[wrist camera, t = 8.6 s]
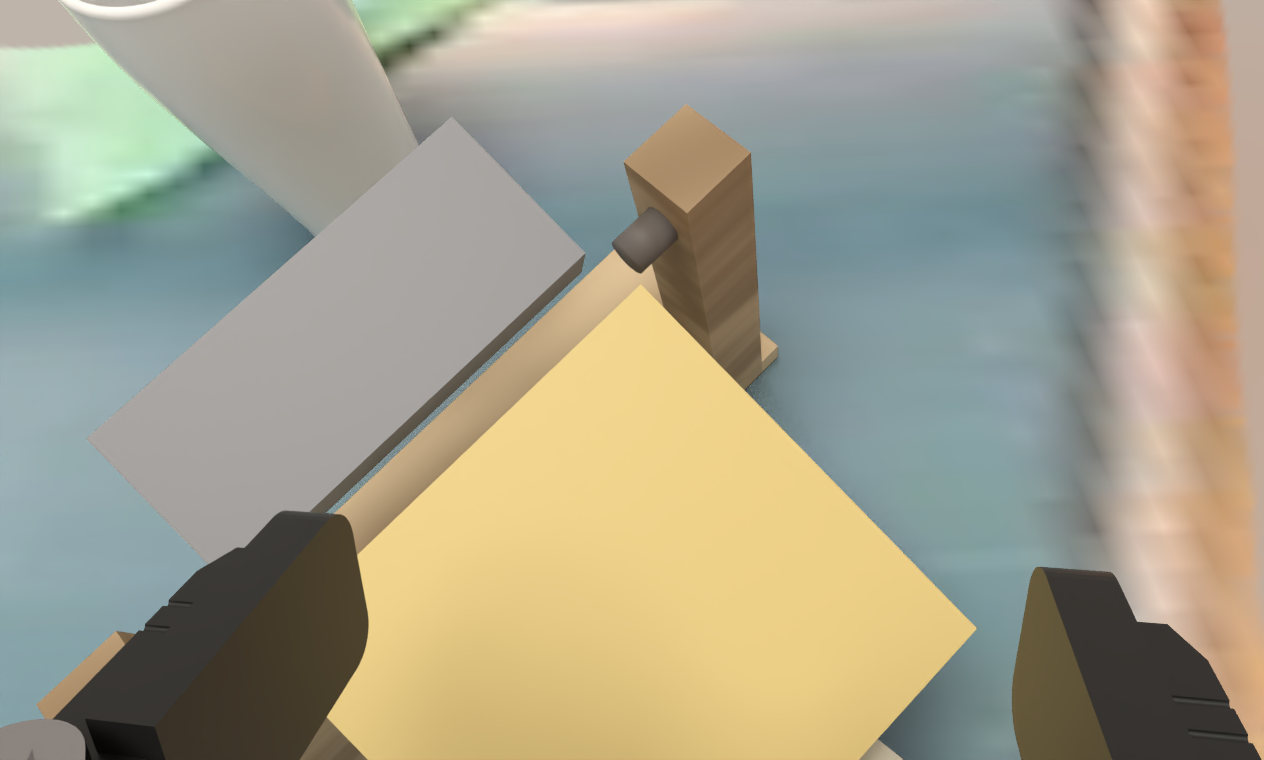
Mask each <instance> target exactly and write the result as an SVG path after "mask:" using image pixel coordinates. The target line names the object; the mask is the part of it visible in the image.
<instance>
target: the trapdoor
mask: <svg viewBox="0 0 1264 760" xmlns="http://www.w3.org/2000/svg"><path fill="white" fill-rule="evenodd" d="M584 258H585V252H584V251H583V250H582V249H581V248H580V247H579V246H578V245H577V244H576V243H575V242H574V241H573V240H572V239H571V238H570V237H569V236H568V235H567V234H566V233H565V232H564V231H563V230H562V229H561V228H560V227H559V226H558V225H557V224H556V223H555V222H554V221H553V220H552V219H551V217H550V216H549V215H548V214H547V213H546V212H545V211H544V210H543V209H542V208H541V207H540V206H539V205H538V204H537V203H536V202H535V201H534V200H533V199H532V198H531V197H530V196H529V195H528V194H527V193H526V192H525V191H524V190H523V189H522V188H521V187H520V186H519V185H518V184H517V183H516V182H515V181H514V180H513V179H512V178H511V177H510V175H509V174H508V173H507V172H506V171H505V170H504V169H503V168H502V167H501V166H500V165H499V164H498V163H497V162H496V161H495V160H494V159H493V158H492V157H491V156H490V155H489V154H488V153H487V152H486V151H485V150H484V149H483V148H482V147H481V146H480V145H479V144H478V143H477V142H476V141H475V140H474V139H473V138H472V137H471V136H470V135H469V133H468V132H467V131H466V130H465V129H464V128H463V127H462V126H461V125H460V124H459V123H458V122H457V121H456V120H455V119H454V118H453V117H451V118H450V119H449V120H447V121H446V122H445V123H444V124H443V125H442V126H441V127H439V128H438V129H437V130H436V131H435V132H434V133H433V134H431V135H430V136H429V137H428V138H427V139H426V140H425V141H424V142H422V143H421V144H420V145H419V146H418V147H417V148H416V149H414V150H413V151H412V152H411V153H410V154H409V155H408V156H407V157H405V158H404V159H403V160H402V161H401V162H400V163H399V164H397V165H396V166H395V167H394V168H393V169H392V170H391V171H390V172H388V173H387V174H386V175H385V176H384V177H383V178H382V179H380V180H379V181H378V182H377V183H376V184H375V185H374V186H372V187H371V188H370V189H369V190H368V191H367V192H366V193H365V194H363V195H362V196H361V197H360V198H359V199H358V200H357V201H355V202H354V203H353V204H352V205H351V206H350V207H349V208H348V209H346V210H345V211H344V212H343V213H342V214H341V215H340V216H338V217H337V218H336V219H335V220H334V221H333V222H332V223H331V224H329V225H328V226H327V227H326V228H325V229H324V230H323V231H321V232H320V233H319V234H318V235H317V236H316V237H315V238H313V239H312V240H311V241H310V242H309V243H308V244H307V245H306V246H304V247H303V248H302V249H301V250H300V251H299V252H298V253H296V254H295V255H294V256H293V257H292V258H291V259H290V260H289V261H287V262H286V263H285V264H284V265H283V266H282V267H281V268H279V269H278V270H277V271H276V272H275V273H274V274H273V275H272V276H270V277H269V278H268V279H267V280H266V281H265V282H264V283H262V284H261V285H260V286H259V287H258V288H257V289H256V290H254V291H253V292H252V293H251V294H250V295H249V296H248V297H247V298H245V299H244V300H243V301H242V302H241V303H240V304H239V305H237V306H236V307H235V308H234V309H233V310H232V311H231V312H230V313H228V314H227V315H226V316H225V317H224V318H223V319H222V320H220V321H219V322H218V323H217V324H216V325H215V326H214V327H213V328H211V329H210V330H209V331H208V332H207V333H206V334H205V335H203V336H202V337H201V338H200V339H199V340H198V341H197V342H195V343H194V344H193V345H192V346H191V347H190V348H189V349H188V350H186V351H185V352H184V353H183V354H182V355H181V356H180V357H178V358H177V359H176V360H175V361H174V362H173V363H172V364H171V365H169V366H168V367H167V368H166V369H165V370H164V371H163V372H161V373H160V374H159V375H158V376H157V377H156V378H155V379H154V380H152V381H151V382H150V383H149V384H148V385H147V386H146V387H144V388H143V389H142V390H141V391H140V392H139V393H138V394H136V395H135V396H134V397H133V398H132V399H131V400H130V401H129V402H127V403H126V404H125V405H124V406H123V407H122V408H121V409H119V410H118V411H117V412H116V413H115V414H114V415H113V416H112V417H110V418H109V419H108V420H107V421H106V422H105V423H104V424H102V425H101V426H100V427H99V428H98V429H97V430H96V431H95V432H93V433H92V434H91V435H90V436H89V437H88V438H87V440H88V441H89V442H90V443H91V444H92V445H93V446H94V447H95V448H96V449H97V450H98V451H99V452H100V453H101V454H102V455H103V456H104V457H105V459H106V460H107V461H108V462H109V463H110V464H111V465H112V466H113V467H114V468H115V469H116V470H117V471H118V472H119V473H120V474H121V475H122V476H123V477H124V478H125V479H126V480H127V481H128V482H129V483H130V484H131V485H132V486H133V487H134V488H135V489H136V490H137V491H138V493H139V494H140V495H141V496H142V497H143V498H144V499H145V500H146V501H147V502H148V503H149V504H150V505H151V506H152V507H153V508H154V509H155V510H156V511H157V512H158V513H159V514H160V515H161V516H162V517H163V518H164V519H165V520H166V521H167V522H168V523H169V524H170V526H171V527H172V528H173V529H174V530H175V531H176V532H177V533H178V534H179V535H180V536H181V537H182V538H183V539H184V540H185V541H186V542H187V543H188V544H189V545H190V546H191V547H192V548H193V549H194V550H195V551H196V552H197V553H198V554H199V555H200V556H201V557H202V559H203V560H204V561H205V562H206V563H207V564H210V563H211V562H213V561H215V560H216V559H218V558H220V557H221V556H223V555H225V554H226V553H228V552H230V551H232V550H233V549H235V548H237V547H240V548H245V547H246V546H247V545H248V544H249V543H250V541H251V540H252V539H253V538H254V537H255V536H256V535H257V534H258V533H259V532H260V531H261V530H262V529H263V528H264V527H265V525H266V524H267V523H268V522H269V521H270V520H271V519H272V518H273V517H274V516H275V515H276V514H277V513H279V512H281V511H285V510H287V511H301V512H315V513H326V512H327V511H328V510H329V509H330V508H331V507H332V506H333V505H334V504H335V503H336V502H337V501H339V500H340V499H341V498H342V497H343V496H344V495H345V494H346V493H347V492H348V491H349V490H350V489H351V488H352V487H353V486H354V485H356V484H357V483H358V482H359V481H360V480H361V479H362V478H363V477H364V476H365V475H366V474H367V473H368V472H369V471H370V470H372V469H373V468H374V467H375V466H376V465H377V464H378V463H379V462H380V461H381V460H382V459H383V458H384V457H385V456H386V455H387V454H389V453H390V452H391V451H392V450H393V449H394V448H395V447H396V446H397V445H398V444H399V443H400V442H401V441H402V440H403V439H405V438H406V437H407V436H408V435H409V434H410V433H411V432H412V431H413V430H414V429H415V428H416V427H417V426H418V425H419V424H420V423H422V422H423V421H424V420H425V419H426V418H427V417H428V416H429V415H430V414H431V413H432V412H433V411H434V410H435V409H436V408H437V407H439V406H440V405H441V404H442V403H443V402H444V401H445V400H446V399H447V398H448V397H449V396H450V395H451V394H452V393H453V392H455V391H456V390H457V389H458V388H459V387H460V386H461V385H462V384H463V383H464V382H465V381H466V380H467V379H468V378H469V377H470V376H472V375H473V374H474V373H475V372H476V371H477V370H478V369H479V368H480V367H481V366H482V365H483V364H484V363H485V362H486V361H488V360H489V359H490V358H491V357H492V356H493V355H494V354H495V353H496V352H497V351H498V350H499V349H500V348H501V347H502V346H503V345H505V344H506V343H507V342H508V341H509V340H510V339H511V338H512V337H513V336H514V335H515V334H516V333H517V332H518V331H519V330H520V329H522V328H523V327H524V326H525V325H526V324H527V323H528V322H529V321H530V320H531V319H532V318H533V317H534V316H535V315H536V314H538V313H539V312H540V311H541V310H542V309H543V308H544V307H545V306H546V305H547V304H548V303H549V302H550V301H551V300H552V299H553V298H555V297H556V296H557V295H558V294H559V293H560V292H561V291H562V290H563V289H564V288H565V287H566V286H567V285H568V284H569V283H571V282H572V281H573V280H574V279H575V278H576V277H577V276H578V275H579V274H580V273H581V271H582V267H583V262H584ZM357 557H358V562H359V568H360V573H361V579H362V584H363V589H364V595H365V600H366V605H367V611H368V618H369V629H368V638H367V644H366V648H365V652H364V654H363V657H362V660H361V662H360V664H359V666H358V668H357V670H356V671H355V673H354V674H353V676H352V678H351V679H350V681H349V682H348V684H347V686H346V687H345V689H344V690H343V692H342V694H341V695H340V697H339V698H338V700H337V701H336V703H335V705H334V706H333V708H332V709H331V711H330V713H329V714H328V716H327V718H328V719H329V720H330V721H331V722H332V723H333V724H334V725H335V726H336V727H337V728H338V729H339V731H340V732H341V733H342V734H343V735H344V736H345V737H346V738H347V739H348V740H349V741H350V742H351V743H352V744H353V745H354V746H355V747H356V748H357V749H358V750H359V751H360V752H361V753H362V754H363V755H364V756H365V757H366V758H367V759H368V760H859V759H860V758H861V757H862V756H863V755H864V754H865V752H866V751H867V750H868V749H869V748H870V747H871V746H872V745H873V744H874V742H875V741H876V740H877V739H878V738H879V737H880V736H881V735H882V734H883V732H884V731H885V730H886V729H887V728H888V727H889V726H890V725H891V724H892V722H893V721H894V720H895V719H896V718H897V717H898V716H899V715H900V714H901V712H902V711H903V710H904V709H905V708H906V707H907V706H908V705H909V704H910V702H911V701H912V700H913V699H914V698H915V697H916V696H917V695H918V693H919V692H920V691H921V690H922V689H923V688H924V687H925V686H926V685H927V683H928V682H929V681H930V680H931V679H932V678H933V677H934V676H935V675H936V673H937V672H938V671H939V670H940V669H941V668H942V667H943V666H944V665H945V663H946V662H947V661H948V660H949V659H950V658H951V657H952V656H953V655H954V653H955V652H956V651H957V650H958V649H959V648H960V647H961V646H962V645H963V643H964V642H965V641H966V640H967V639H968V638H969V637H970V636H971V635H972V633H973V632H974V631H975V630H976V629H977V628H976V627H975V626H974V625H973V624H972V623H971V622H970V621H969V620H968V619H967V618H966V617H965V616H964V615H963V614H962V613H961V612H960V611H959V610H958V609H957V608H956V607H955V606H954V604H953V603H952V602H951V601H950V600H949V599H948V598H947V597H946V596H945V595H944V594H943V593H942V592H941V591H940V590H939V589H938V588H937V587H936V586H935V585H934V584H933V583H932V582H931V581H930V580H929V579H928V578H927V577H926V576H925V575H924V574H923V573H922V572H921V571H920V570H919V569H918V568H917V567H916V566H915V565H914V564H913V562H912V561H911V560H910V559H909V558H908V557H907V556H906V555H905V554H904V553H903V552H902V551H901V550H900V549H899V548H898V547H897V546H896V545H895V544H894V543H893V542H892V541H891V540H890V539H889V538H888V537H887V536H886V535H885V534H884V533H883V532H882V531H881V530H880V529H879V528H878V527H877V526H876V525H875V524H874V523H873V522H872V521H871V519H870V518H869V517H868V516H867V515H866V514H865V513H864V512H863V511H862V510H861V509H860V508H859V507H858V506H857V505H856V504H855V503H854V502H853V501H852V500H851V499H850V498H849V497H848V496H847V495H846V494H845V493H844V492H843V491H842V490H841V489H840V488H839V487H838V486H837V485H836V484H835V483H834V482H833V481H832V480H831V479H830V477H829V476H828V475H827V474H826V473H825V472H824V471H823V470H822V469H821V468H820V467H819V466H818V465H817V464H816V463H815V462H814V461H813V460H812V459H811V458H810V457H809V456H808V455H807V454H806V453H805V452H804V451H803V450H802V449H801V448H800V447H799V446H798V445H797V444H796V443H795V442H794V441H793V440H792V439H791V438H790V437H789V435H788V434H787V433H786V432H785V431H784V430H783V429H782V428H781V427H780V426H779V425H778V424H777V423H776V422H775V421H774V420H773V419H772V418H771V417H770V416H769V415H768V414H767V413H766V412H765V411H764V410H763V409H762V408H761V407H760V406H759V405H758V404H757V403H756V402H755V401H754V400H753V399H752V398H751V397H750V396H749V395H748V394H747V392H746V391H745V390H744V389H743V388H742V387H741V386H740V385H739V384H738V383H737V382H736V381H735V380H734V379H733V378H732V377H731V376H730V375H729V374H728V373H727V372H726V371H725V370H724V369H723V368H722V367H721V366H720V365H719V364H718V363H717V362H716V361H715V360H714V359H713V358H712V357H711V356H710V355H709V354H708V353H707V352H706V350H705V349H704V348H703V347H702V346H701V345H700V344H699V343H698V342H697V341H696V340H695V339H694V338H693V337H692V336H691V335H690V334H689V333H688V332H687V331H686V330H685V329H684V328H683V327H682V326H681V325H680V324H679V323H678V322H677V321H676V320H675V319H674V318H673V317H672V316H671V315H670V314H669V313H668V312H667V311H666V310H665V308H664V307H663V306H662V305H661V304H660V303H659V302H658V301H657V300H656V299H655V298H654V297H653V296H652V295H651V294H650V293H649V292H648V291H647V290H646V289H645V288H644V287H643V286H642V285H641V284H640V285H639V286H638V287H637V288H636V289H635V290H634V291H633V292H632V293H631V294H630V295H629V296H628V297H627V298H626V299H625V300H624V301H623V302H622V303H621V304H620V305H618V306H617V307H616V308H615V309H614V310H613V311H612V312H611V313H610V314H609V315H608V316H607V317H606V318H605V319H604V320H603V321H602V322H601V323H600V324H599V325H598V326H596V327H595V328H594V329H593V330H592V331H591V332H590V333H589V334H588V335H587V336H586V337H585V338H584V339H583V340H582V341H581V342H580V343H579V344H578V345H577V346H576V347H574V348H573V349H572V350H571V351H570V352H569V353H568V354H567V355H566V356H565V357H564V358H563V359H562V360H561V361H560V362H559V363H558V364H557V365H556V366H555V367H554V368H552V369H551V370H550V371H549V372H548V373H547V374H546V375H545V376H544V377H543V378H542V379H541V380H540V381H539V382H538V383H537V384H536V385H535V386H534V387H533V388H532V389H530V390H529V391H528V392H527V393H526V394H525V395H524V396H523V397H522V398H521V399H520V400H519V401H518V402H517V403H516V404H515V405H514V406H513V407H512V408H511V409H510V410H508V411H507V412H506V413H505V414H504V415H503V416H502V417H501V418H500V419H499V420H498V421H497V422H496V423H495V424H494V425H493V426H492V427H491V428H490V429H489V430H488V431H486V432H485V433H484V434H483V435H482V436H481V437H480V438H479V439H478V440H477V441H476V442H475V443H474V444H473V445H472V446H471V447H470V448H469V449H468V450H467V451H466V452H464V453H463V454H462V455H461V456H460V457H459V458H458V459H457V460H456V461H455V462H454V463H453V464H452V465H451V466H450V467H449V468H448V469H447V470H446V471H445V472H444V473H442V474H441V475H440V476H439V477H438V478H437V479H436V480H435V481H434V482H433V483H432V484H431V485H430V486H429V487H428V488H427V489H426V490H425V491H424V492H423V493H422V494H420V495H419V496H418V497H417V498H416V499H415V500H414V501H413V502H412V503H411V504H410V505H409V506H408V507H407V508H406V509H405V510H404V511H403V512H402V513H401V514H400V515H398V516H397V517H396V518H395V519H394V520H393V521H392V522H391V523H390V524H389V525H388V526H387V527H386V528H385V529H384V530H383V531H382V532H381V533H380V534H379V535H378V536H376V537H375V538H374V539H373V540H372V541H371V542H370V543H369V544H368V545H367V546H366V547H365V548H364V549H363V550H362V551H361V552H360V553H359V554H358V555H357Z"/></svg>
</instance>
